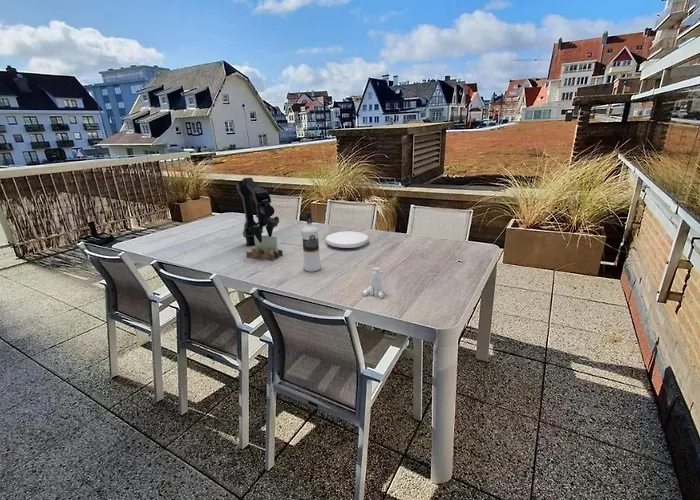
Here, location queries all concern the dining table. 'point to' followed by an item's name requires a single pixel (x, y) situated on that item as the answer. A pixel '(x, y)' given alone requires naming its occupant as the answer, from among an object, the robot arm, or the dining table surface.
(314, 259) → the vodka
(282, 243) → the mat
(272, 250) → the offcut
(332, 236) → the plate
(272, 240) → the green rectangular slab
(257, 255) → the rack
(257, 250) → the offcut
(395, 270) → the dining table surface
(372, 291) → the sitting furry creature
